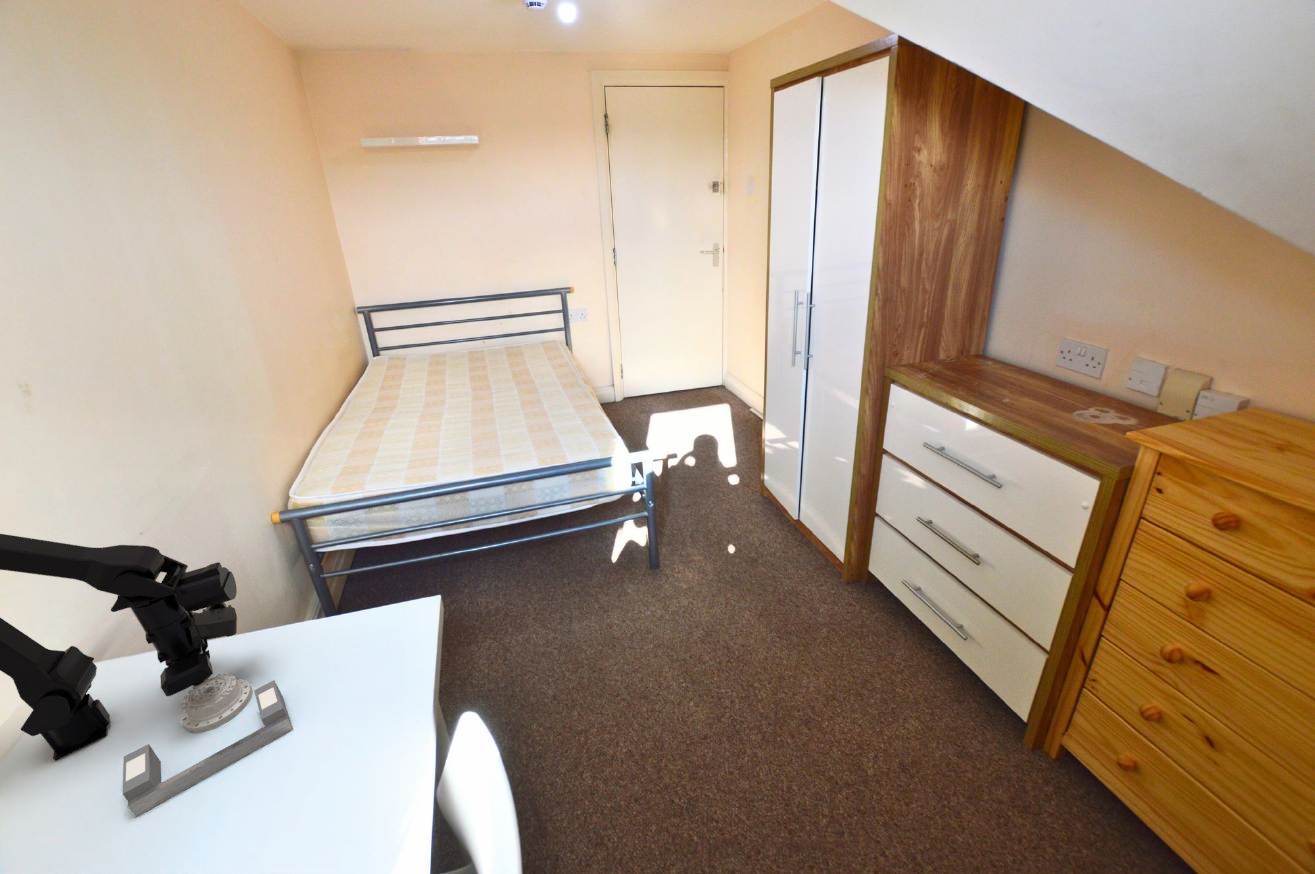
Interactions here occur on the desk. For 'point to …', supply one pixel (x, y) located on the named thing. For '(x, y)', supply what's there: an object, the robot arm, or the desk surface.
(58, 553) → the robot arm
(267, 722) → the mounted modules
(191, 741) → the desk surface
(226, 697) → the mechanical component
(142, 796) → the metal rail
